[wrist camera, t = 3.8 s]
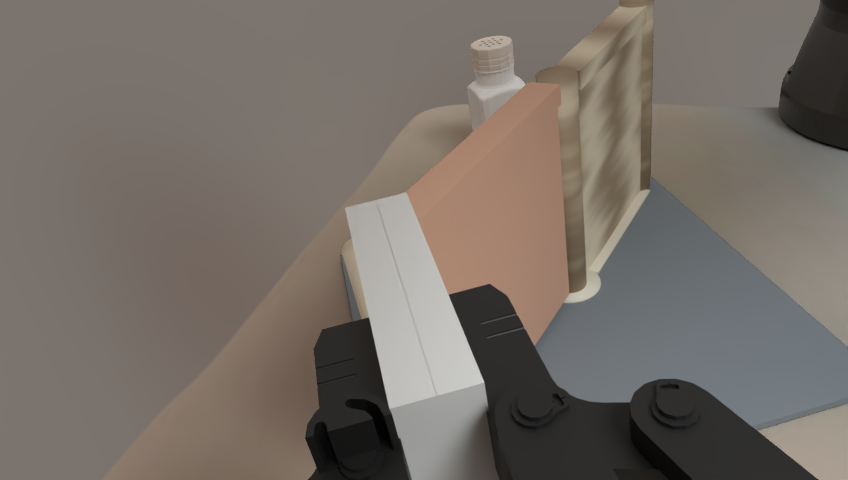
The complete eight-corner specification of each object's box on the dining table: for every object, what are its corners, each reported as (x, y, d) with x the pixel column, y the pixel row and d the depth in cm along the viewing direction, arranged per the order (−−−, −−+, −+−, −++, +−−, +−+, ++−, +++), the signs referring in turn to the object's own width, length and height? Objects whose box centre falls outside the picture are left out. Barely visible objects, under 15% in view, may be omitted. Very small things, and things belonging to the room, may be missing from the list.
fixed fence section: (579, 297, 38) (567, 82, 31) (546, 289, 39) (528, 80, 32) (653, 180, 47) (658, -7, 40) (626, 176, 48) (625, -6, 41)
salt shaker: (490, 169, 53) (475, 55, 48) (473, 151, 56) (457, 42, 51) (535, 156, 54) (525, 42, 48) (516, 138, 57) (505, 30, 52)
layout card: (648, 178, 48) (648, 172, 47) (888, 390, 29) (891, 382, 29) (341, 259, 46) (340, 253, 46) (394, 539, 28) (391, 532, 27)
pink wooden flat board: (545, 287, 38) (526, 81, 31) (574, 294, 37) (562, 84, 30) (402, 489, 28) (331, 255, 22) (437, 505, 27) (373, 266, 21)
